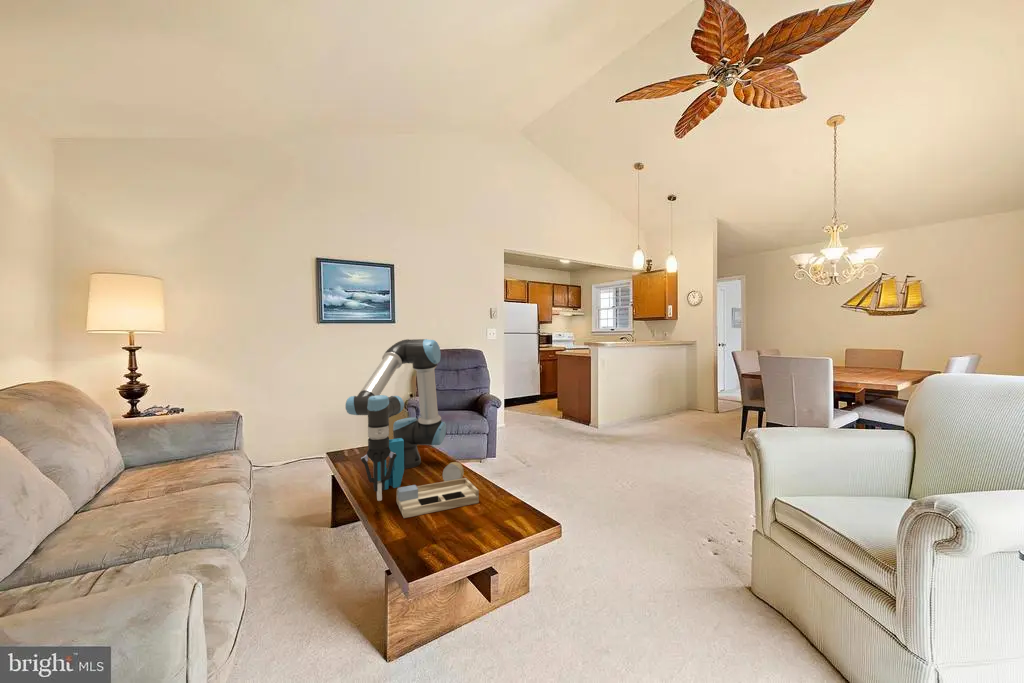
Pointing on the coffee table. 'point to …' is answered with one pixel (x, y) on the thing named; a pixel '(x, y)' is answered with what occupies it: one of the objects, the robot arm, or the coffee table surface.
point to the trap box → (440, 497)
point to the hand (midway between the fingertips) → (379, 499)
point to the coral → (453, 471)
